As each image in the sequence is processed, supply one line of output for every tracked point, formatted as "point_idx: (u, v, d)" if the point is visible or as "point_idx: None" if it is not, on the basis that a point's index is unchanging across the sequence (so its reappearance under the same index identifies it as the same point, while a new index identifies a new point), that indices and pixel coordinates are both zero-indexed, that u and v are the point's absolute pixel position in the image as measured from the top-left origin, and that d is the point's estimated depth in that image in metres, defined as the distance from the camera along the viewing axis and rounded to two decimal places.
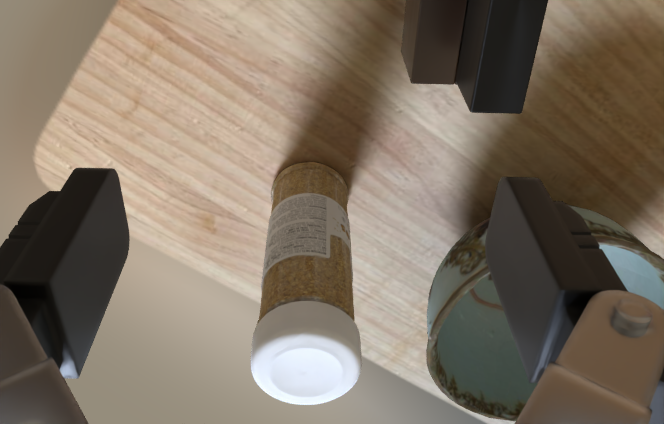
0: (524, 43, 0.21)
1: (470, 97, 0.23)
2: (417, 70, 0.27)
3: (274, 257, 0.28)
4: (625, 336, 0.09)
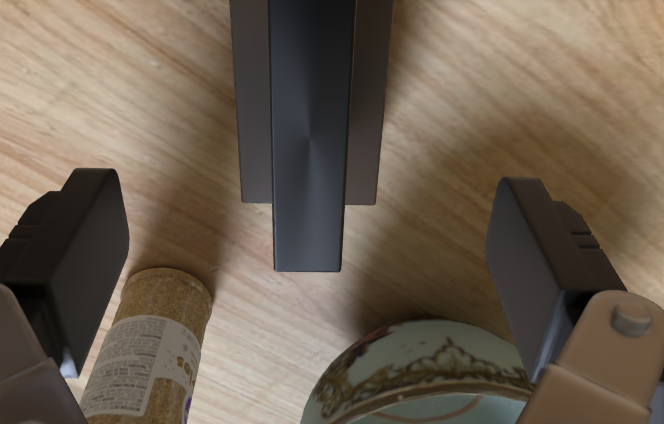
0: (326, 197, 0.16)
1: None
2: (247, 189, 0.22)
3: None
4: (625, 336, 0.09)
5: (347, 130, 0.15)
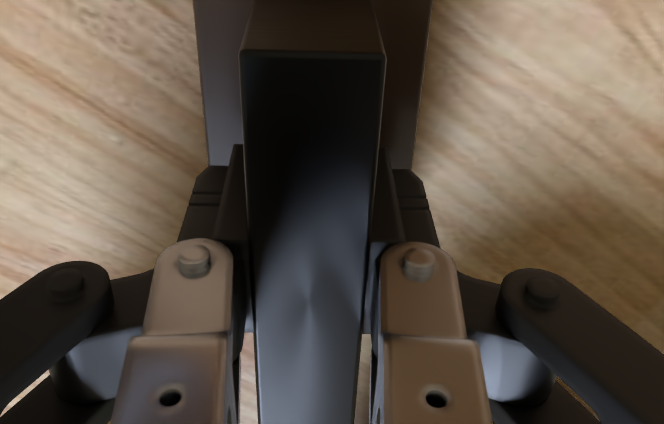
0: (331, 371, 0.12)
1: None
2: None
3: None
4: (406, 279, 0.09)
5: (363, 292, 0.11)
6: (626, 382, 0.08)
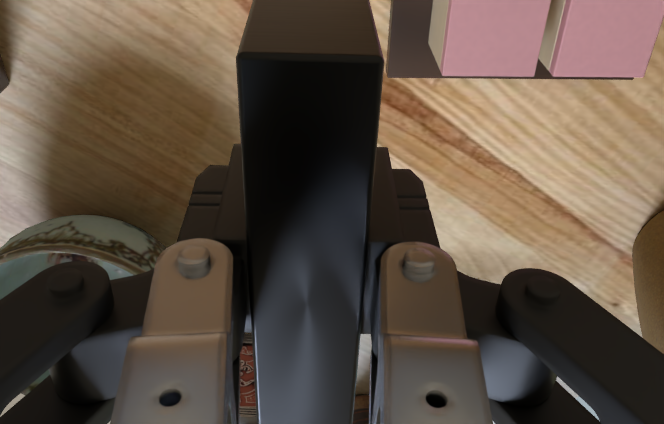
0: (330, 372, 0.12)
1: None
2: None
3: None
4: (406, 279, 0.09)
5: (361, 294, 0.11)
6: (626, 382, 0.08)
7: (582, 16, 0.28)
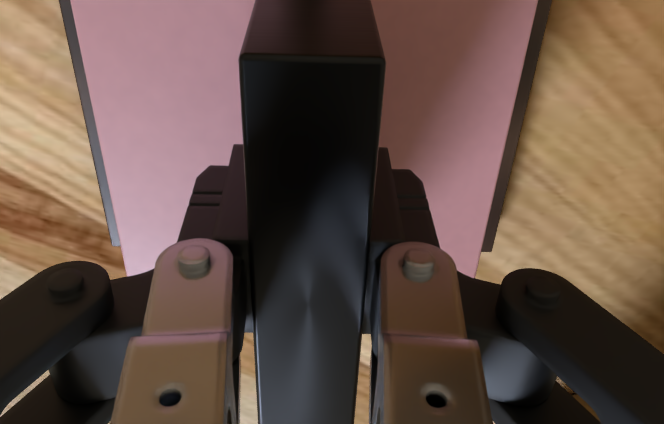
0: (331, 373, 0.12)
1: None
2: None
3: None
4: (406, 279, 0.09)
5: (363, 294, 0.11)
6: (625, 382, 0.08)
7: None
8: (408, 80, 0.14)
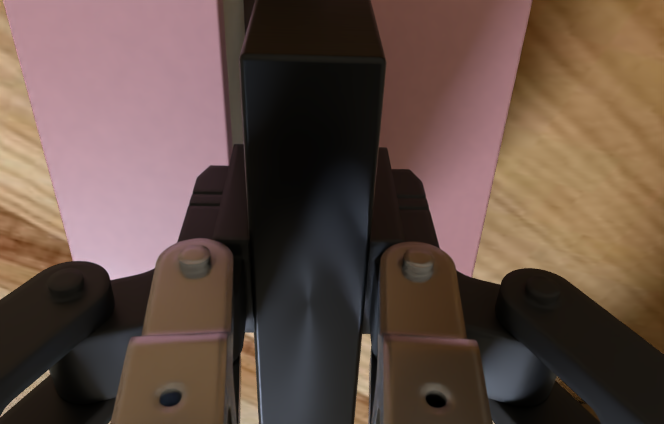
0: (332, 371, 0.12)
1: None
2: None
3: None
4: (405, 279, 0.09)
5: (363, 293, 0.11)
6: (624, 382, 0.08)
7: None
8: (396, 137, 0.15)
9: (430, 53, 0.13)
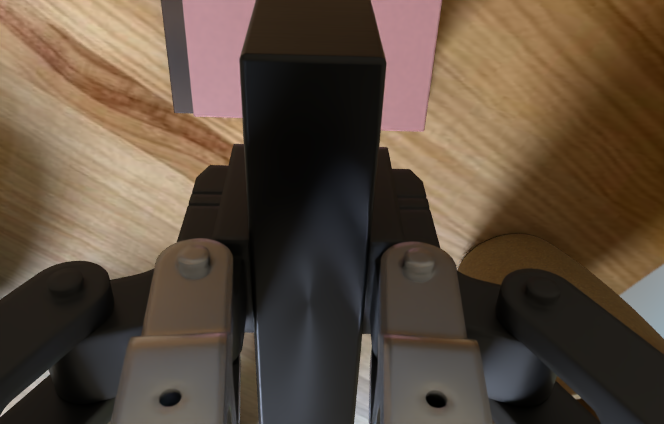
0: (332, 371, 0.12)
1: None
2: None
3: None
4: (406, 279, 0.09)
5: (363, 293, 0.11)
6: (625, 382, 0.08)
7: None
8: None
9: None
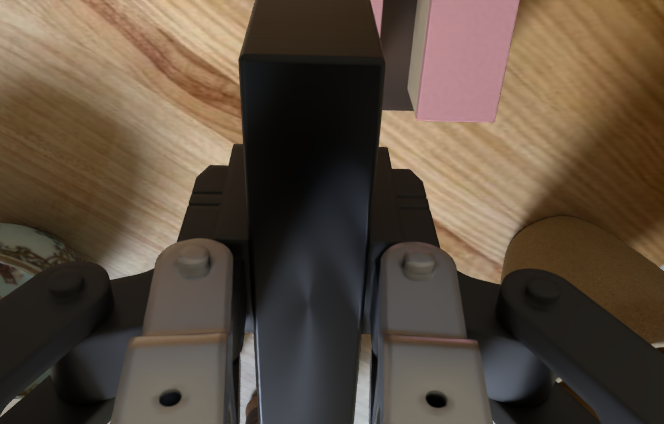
0: (331, 372, 0.12)
1: None
2: None
3: None
4: (406, 279, 0.09)
5: (362, 294, 0.11)
6: (625, 382, 0.08)
7: (435, 72, 0.33)
8: (468, 4, 0.31)
9: None
